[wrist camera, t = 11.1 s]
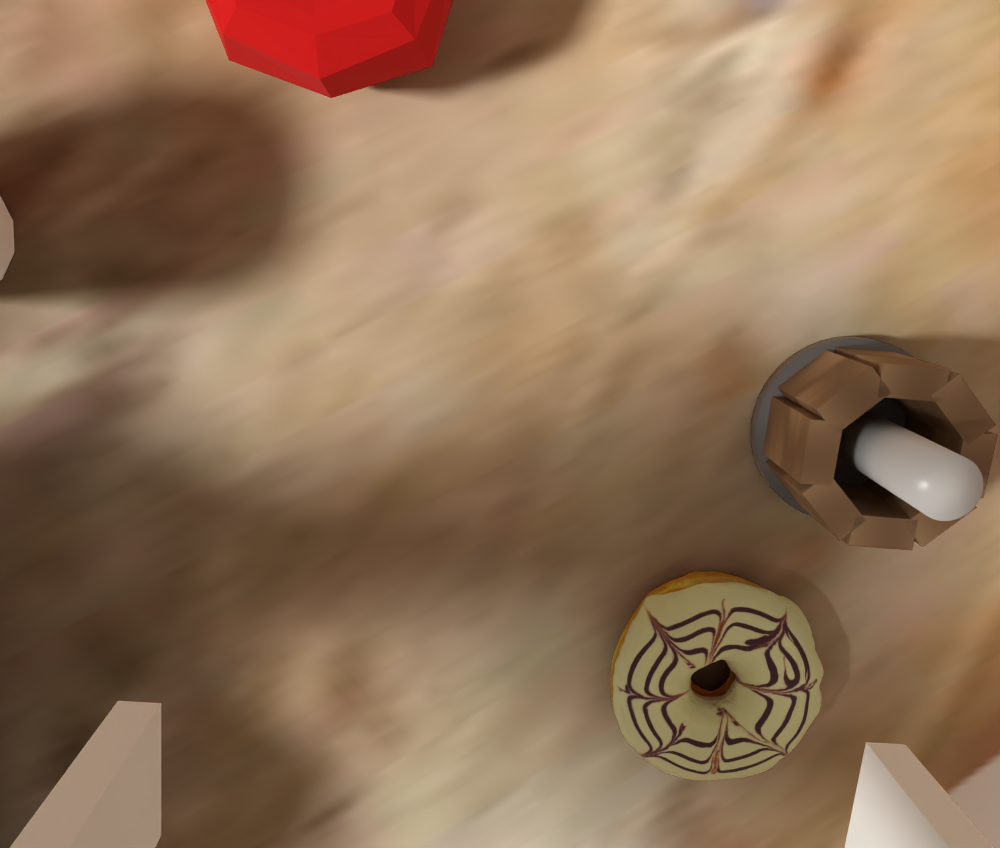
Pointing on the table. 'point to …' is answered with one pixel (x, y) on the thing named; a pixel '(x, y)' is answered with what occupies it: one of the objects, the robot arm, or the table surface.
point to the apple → (331, 39)
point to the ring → (841, 400)
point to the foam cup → (5, 238)
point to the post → (878, 447)
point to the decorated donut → (739, 701)
